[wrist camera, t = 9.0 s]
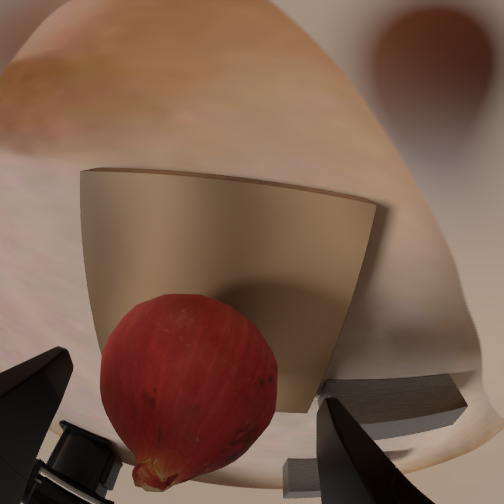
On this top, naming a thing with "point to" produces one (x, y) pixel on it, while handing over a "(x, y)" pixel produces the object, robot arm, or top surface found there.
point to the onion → (186, 387)
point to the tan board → (229, 257)
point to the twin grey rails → (381, 417)
